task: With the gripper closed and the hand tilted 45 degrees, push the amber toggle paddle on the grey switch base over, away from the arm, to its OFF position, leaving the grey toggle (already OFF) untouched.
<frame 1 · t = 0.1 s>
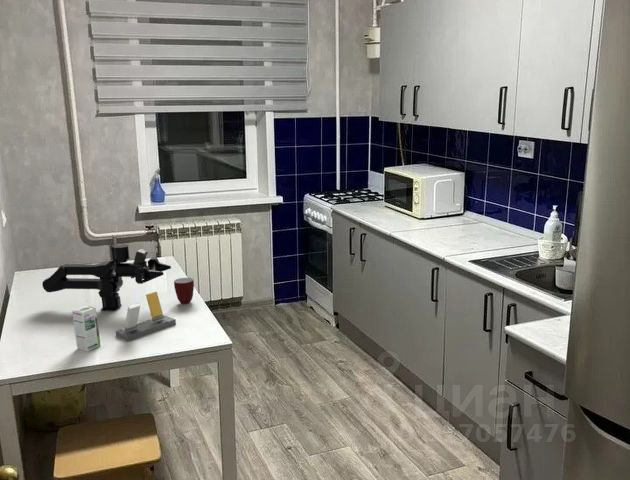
hand: (167, 270, 247), 17 cm above the table, tool horizontal, fingers open, 9 cm apart
syrup box: (88, 348, 214), on the table
rocker amber: (154, 306, 231), point 7 cm above the table, hinge at -18.0°
grey switch base: (146, 330, 228), on the table
rocker grey: (132, 317, 221), point 7 cm above the table, hinge at 22.0°
mug: (185, 304, 256), on the table
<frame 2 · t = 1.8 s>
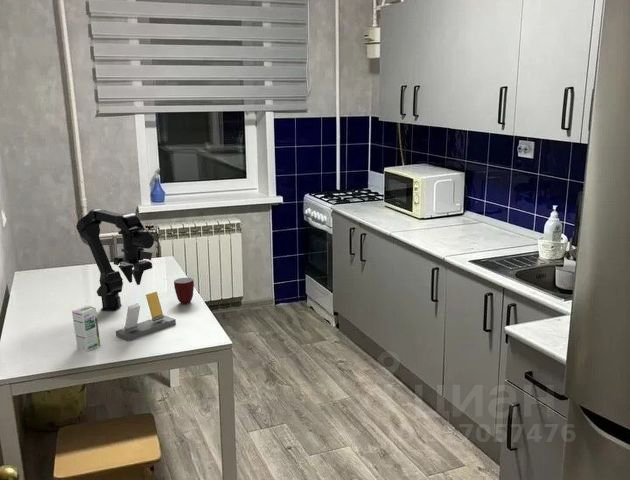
hand: (134, 283, 242), 13 cm above the table, tool pointing down, fingers open, 5 cm apart
nothing on the table moved.
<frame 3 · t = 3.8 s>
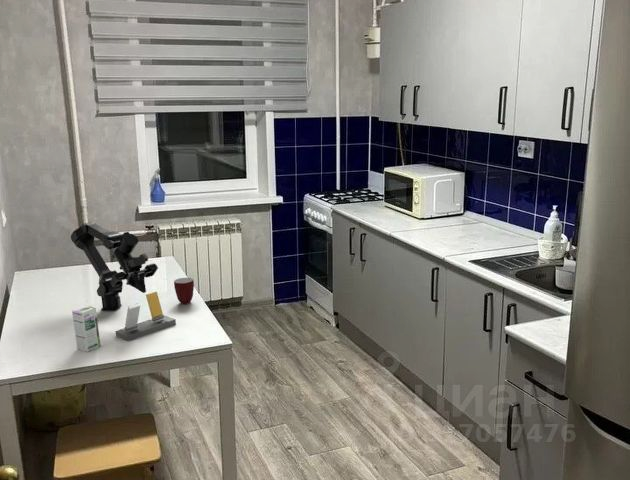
hand: (144, 292, 234), 12 cm above the table, tool tilted 45°, fingers closed
nothing on the table moved.
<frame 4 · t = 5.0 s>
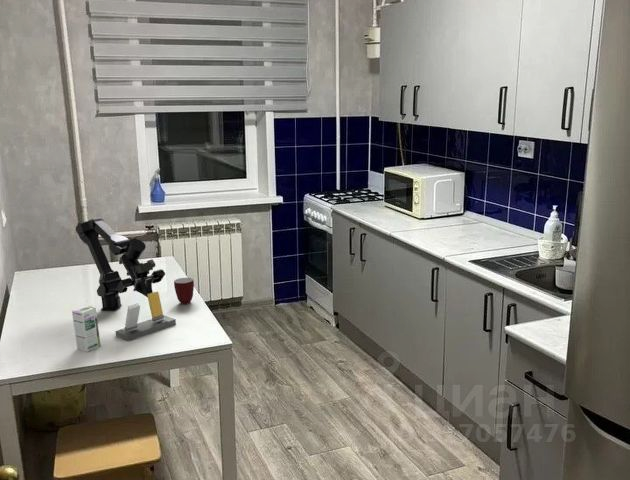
hand: (152, 298, 231), 10 cm above the table, tool tilted 45°, fingers closed, pressing on rocker amber
rocker amber: (155, 306, 231), point 8 cm above the table, hinge at -11.7°, touching gripper
everything else where it was.
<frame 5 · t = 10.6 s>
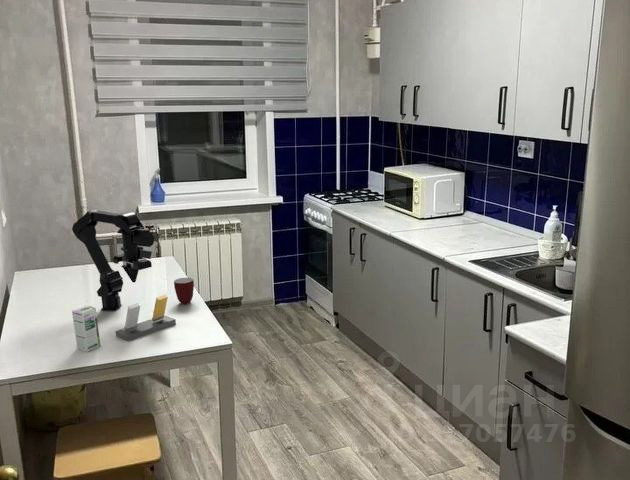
hand: (134, 282, 244), 13 cm above the table, tool pointing down, fingers closed
rocker amber: (159, 308, 229), point 7 cm above the table, hinge at 23.2°
everything else where it was.
at the end: rocker amber at +23° (first picture: -18°); rocker grey at +22° (first picture: +22°) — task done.
